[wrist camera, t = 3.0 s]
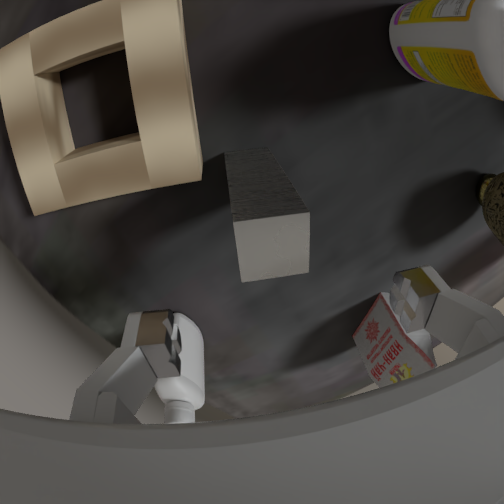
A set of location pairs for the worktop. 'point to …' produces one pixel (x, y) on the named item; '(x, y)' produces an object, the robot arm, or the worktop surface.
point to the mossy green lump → (492, 202)
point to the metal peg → (266, 216)
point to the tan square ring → (144, 97)
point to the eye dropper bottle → (185, 376)
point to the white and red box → (391, 345)
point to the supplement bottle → (452, 43)
